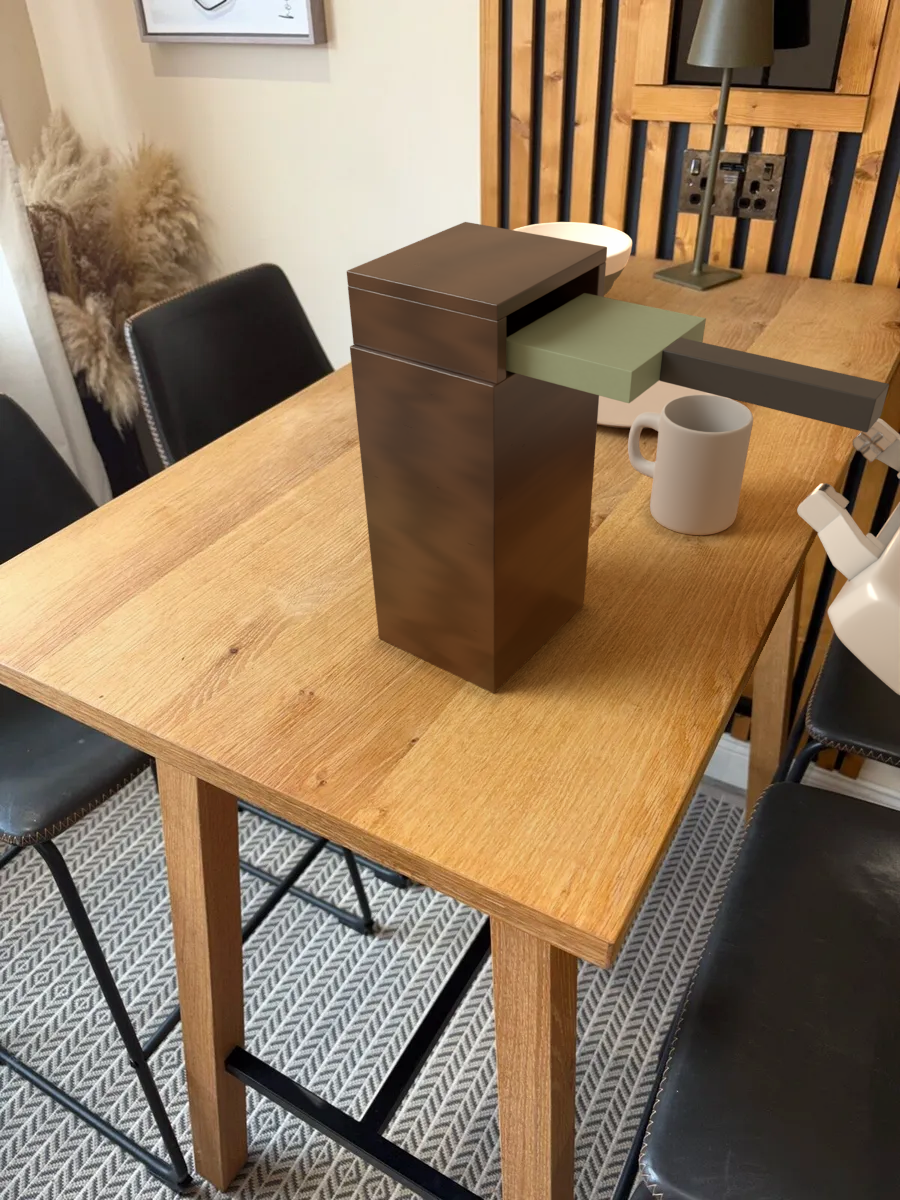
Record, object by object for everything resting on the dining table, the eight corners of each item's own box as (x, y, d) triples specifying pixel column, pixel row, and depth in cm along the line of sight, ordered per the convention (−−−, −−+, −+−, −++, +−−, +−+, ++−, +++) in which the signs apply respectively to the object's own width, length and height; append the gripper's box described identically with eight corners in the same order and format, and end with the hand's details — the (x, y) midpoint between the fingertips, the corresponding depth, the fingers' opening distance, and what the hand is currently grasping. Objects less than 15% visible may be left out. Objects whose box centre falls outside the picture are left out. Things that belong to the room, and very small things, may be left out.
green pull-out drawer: (900, 392, 54) (909, 360, 53) (844, 461, 48) (852, 426, 47) (582, 320, 65) (584, 292, 64) (502, 369, 59) (502, 339, 57)
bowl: (485, 289, 148) (485, 227, 142) (603, 278, 150) (607, 217, 144) (514, 334, 132) (515, 267, 126) (645, 321, 135) (651, 254, 129)
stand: (584, 605, 82) (610, 244, 63) (494, 694, 73) (493, 306, 54) (474, 561, 88) (468, 219, 69) (378, 638, 79) (341, 272, 60)
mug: (750, 507, 94) (769, 407, 87) (713, 545, 88) (730, 442, 82) (644, 473, 100) (654, 378, 93) (603, 507, 94) (611, 409, 88)
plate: (737, 448, 104) (740, 432, 102) (511, 433, 108) (512, 417, 107) (729, 358, 123) (732, 343, 122) (539, 348, 128) (539, 334, 127)
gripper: (1104, 513, 56) (928, 361, 57) (1039, 705, 43) (814, 502, 45) (1015, 569, 61) (855, 428, 62) (933, 758, 48) (734, 573, 49)
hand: (837, 460), depth 53 cm, fingers open, 8 cm apart
